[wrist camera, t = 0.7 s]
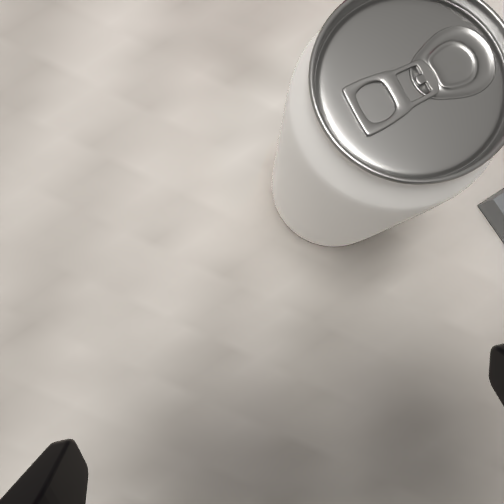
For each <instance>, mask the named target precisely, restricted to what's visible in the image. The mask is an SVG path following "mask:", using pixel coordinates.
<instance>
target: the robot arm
mask: <svg viewBox="0 0 504 504" xmlns="http://www.w3.org/2000/svg"><path fill="white" fill-rule="evenodd" d="M489 380H490V383H491V385H492V387H493V389H494V391H495V392H496V394H497V396H498V397H499V399H500V401H501V402H502V404H503V406H504V344H500V345H495V346H493V347H492V349H491V352H490V365H489ZM87 483H88V468H87V464H86V462H85V460H84V458H83V456H82V454H81V452H80V450H79V448H78V446H77V444H76V443H75V441H74V440H72V439H66V440H61V441H57V442H54V443H52V444H50V445H49V446H48V447H47V448H46V450H45V451H44V452H43V453H42V454H41V455H40V456H39V457H38V458H37V460H36V461H35V462H34V463H33V464H32V465H31V466H30V467H29V468H28V469H27V471H26V472H25V473H24V474H23V475H22V476H21V477H20V478H19V479H18V481H17V482H16V483H15V484H14V485H13V486H12V487H11V488H10V489H9V490H8V492H7V493H6V494H5V495H4V496H3V497H2V498H1V499H0V504H85V503H86V493H87Z"/></svg>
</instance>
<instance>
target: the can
mask: <svg viewBox="0 0 504 504" xmlns="http://www.w3.org/2000/svg"><path fill="white" fill-rule="evenodd" d="M503 145H504V21H503V20H502V19H501V17H500V16H499V15H498V14H497V13H496V12H495V11H494V10H493V9H492V8H491V7H490V6H489V5H488V4H487V3H485V2H484V1H483V0H345V1H344V2H343V3H342V4H340V5H339V6H338V7H337V8H336V9H335V10H334V12H333V13H332V14H331V15H330V16H329V18H328V19H327V20H326V22H325V23H324V25H323V27H322V28H321V30H319V31H318V32H317V34H316V35H315V36H314V37H313V38H312V39H311V40H310V42H309V43H308V44H307V46H306V47H305V49H304V50H303V52H302V54H301V56H300V58H299V60H298V62H297V64H296V67H295V69H294V72H293V74H292V78H291V81H290V85H289V89H288V93H287V98H286V103H285V108H284V113H283V118H282V124H281V129H280V134H279V140H278V145H277V151H276V157H275V162H274V168H273V175H272V194H273V199H274V203H275V206H276V208H277V211H278V213H279V215H280V216H281V218H282V219H283V221H284V222H285V224H286V225H287V226H288V227H289V228H290V229H291V230H292V231H293V232H294V233H296V234H297V235H298V236H300V237H302V238H303V239H305V240H307V241H309V242H312V243H315V244H318V245H323V246H332V247H336V246H346V245H350V244H354V243H356V242H359V241H362V240H364V239H366V238H369V237H371V236H373V235H376V234H378V233H380V232H382V231H384V230H387V229H389V228H391V227H393V226H395V225H398V224H400V223H402V222H404V221H406V220H409V219H411V218H413V217H415V216H417V215H419V214H421V213H424V212H426V211H428V210H430V209H432V208H434V207H436V206H438V205H440V204H442V203H444V202H446V201H448V200H449V199H451V198H453V197H454V196H456V195H458V194H459V193H460V192H462V191H463V190H464V189H466V188H467V187H468V186H469V185H471V184H472V183H473V182H474V181H475V180H476V179H477V178H478V177H479V176H480V175H481V174H482V172H483V171H484V170H485V169H486V167H487V166H488V164H489V163H490V161H491V160H492V158H493V156H494V155H495V154H496V153H497V152H498V151H499V150H500V149H501V148H502V146H503Z"/></svg>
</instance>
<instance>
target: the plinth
mask: <svg viewBox="0 0 504 504" xmlns="http://www.w3.org/2000/svg"><path fill="white" fill-rule="evenodd" d="M478 207H479V208H480V210H481V211H482V213H483V214H484V215H485V217H486V218H487V220H488V221H489V223H490V224H491V225H492V227H493V228H494V230H495V231H496V233H497V234H498V235H499V237H500V238H501V240H502V241H503V243H504V188H503V189H502V190H500V191H499V192H497V193H496V194H494V195H493V196H491V197H489V198H488V199H486V200H485V201H483V202H482V203H480V204H479V205H478Z"/></svg>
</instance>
